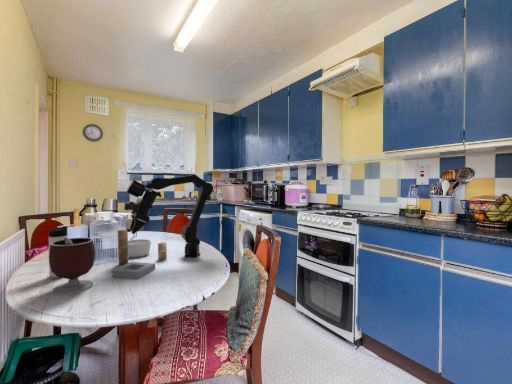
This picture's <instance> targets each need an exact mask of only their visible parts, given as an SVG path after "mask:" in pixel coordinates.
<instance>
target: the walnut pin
mask: <svg viewBox="0 0 512 384" xmlns="http://www.w3.org/2000/svg"><path fill="white" fill-rule="evenodd" d="M128 231H129V230H128V229H119V230H117V244H118V247H117V248H118V249H117V251H118V252H117V253H118V256H117V257H118V266H119V267H121V266H123V265H125V264H127V263H129V257H128V241H129V238H128V237H129V236H128V235H129V233H128Z"/></svg>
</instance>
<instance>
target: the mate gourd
mask: <svg viewBox="0 0 512 384" xmlns="http://www.w3.org/2000/svg"><path fill="white" fill-rule="evenodd" d="M95 248H96V247H95V243H94V239H93V238H91V237H72V238H69V237H68V238H64V239H63V240H58V241H54V242H52V243H51V246H50V250H49V249H48V264H50V268H51V271H52V272H53V273H54V274H55V275H56V276H57V277H60V278H59V279H67V280H68V281H67V282H63V283H60V284H59V285H56V286H54V287H53V288H52V293H53V294H54V295H57V296H58V295H59V296H66V295H67V296H68V295H74V294H78V293H82V292H86V291H88V290H89V289H91V288H92V287H93V286H94V283H93V281H92V280H89V279H88V280H87V279H82V280H81V279H79V278H80V277H82V276H84V275H86V274H88V273H89V272H90V271H91V269H92V268H93V266H94V263H95V260H96V259H95V258H96V249H95Z"/></svg>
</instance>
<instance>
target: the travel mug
mask: <svg viewBox="0 0 512 384" xmlns="http://www.w3.org/2000/svg"><path fill="white" fill-rule="evenodd" d="M64 238H68V239H69V237H68V226H66V225H63V226H60V227H59V226H58V227H53V228H50V229H49V230H48V251H49V250H50V246H51V243H52V242H54V241H58V240H63V239H64ZM48 264H49V263H48ZM48 266H49V269H48V270H49V278H50V279H52V280H58V279H61V278H60V277H57V276H56V275H55V274H54V273H53V272H52V271H51V268H50V264H49V265H48Z"/></svg>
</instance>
